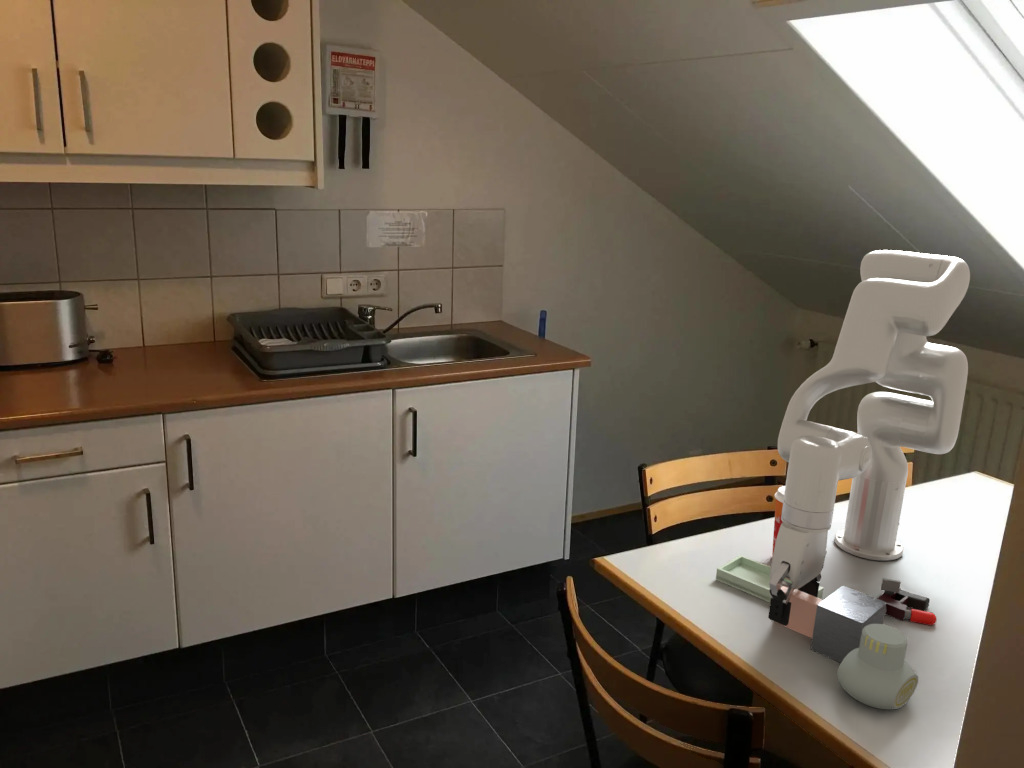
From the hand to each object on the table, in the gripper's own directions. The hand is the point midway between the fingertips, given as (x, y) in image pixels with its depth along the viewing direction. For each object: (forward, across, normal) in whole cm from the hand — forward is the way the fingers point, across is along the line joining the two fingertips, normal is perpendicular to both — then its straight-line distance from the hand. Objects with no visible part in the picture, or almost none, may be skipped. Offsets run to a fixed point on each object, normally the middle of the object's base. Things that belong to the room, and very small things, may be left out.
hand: (792, 611), depth 137 cm
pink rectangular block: (+3, 0, +3) cm, 4 cm away
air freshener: (+3, +8, +17) cm, 19 cm away
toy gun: (+3, -18, +12) cm, 21 cm away
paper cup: (+2, -21, -12) cm, 24 cm away
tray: (+2, -8, -8) cm, 12 cm away
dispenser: (+3, 0, +9) cm, 9 cm away
